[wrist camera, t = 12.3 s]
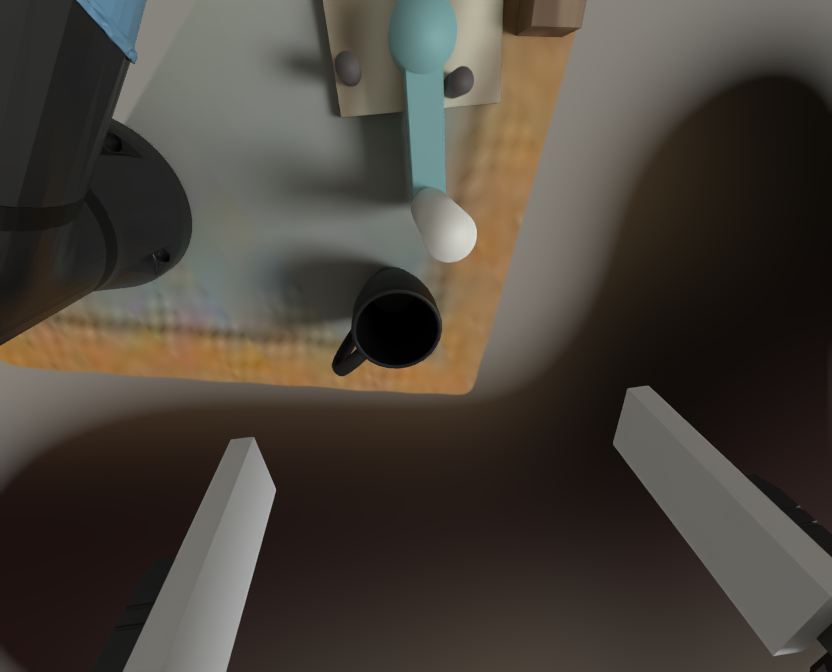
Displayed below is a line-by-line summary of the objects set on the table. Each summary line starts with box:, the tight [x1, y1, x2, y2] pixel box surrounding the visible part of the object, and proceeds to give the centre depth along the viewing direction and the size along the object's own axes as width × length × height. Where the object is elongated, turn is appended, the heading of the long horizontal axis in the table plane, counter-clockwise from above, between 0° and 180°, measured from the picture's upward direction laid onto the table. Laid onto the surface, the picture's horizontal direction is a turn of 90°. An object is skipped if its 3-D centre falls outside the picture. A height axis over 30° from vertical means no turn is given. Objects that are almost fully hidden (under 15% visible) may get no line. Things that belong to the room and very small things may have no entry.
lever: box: [388, 0, 477, 263], centre depth 24 cm, size 5×21×13 cm, turn 4°
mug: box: [332, 268, 442, 376], centre depth 37 cm, size 8×12×10 cm
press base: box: [323, 0, 503, 118], centre depth 28 cm, size 14×11×5 cm
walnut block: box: [516, 0, 586, 37], centre depth 28 cm, size 4×4×4 cm
